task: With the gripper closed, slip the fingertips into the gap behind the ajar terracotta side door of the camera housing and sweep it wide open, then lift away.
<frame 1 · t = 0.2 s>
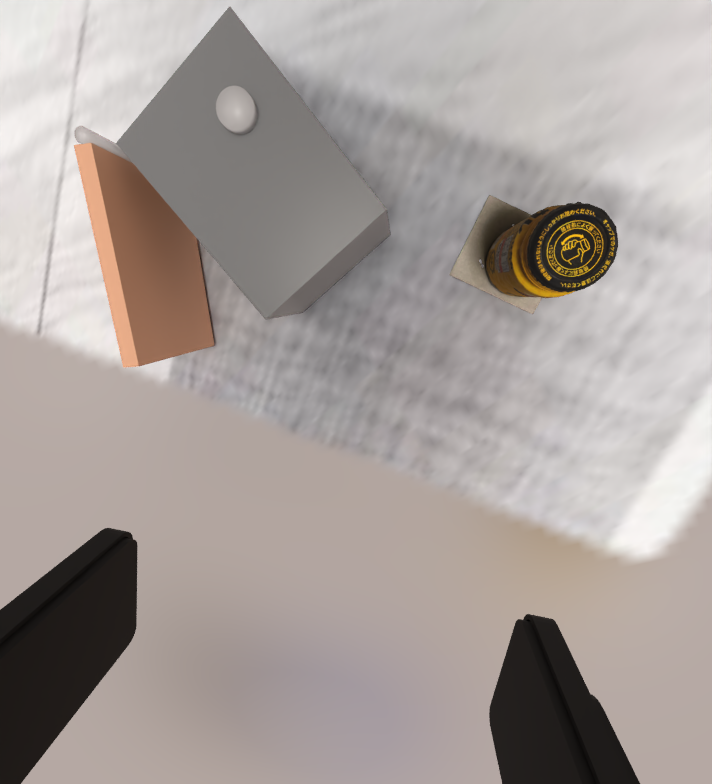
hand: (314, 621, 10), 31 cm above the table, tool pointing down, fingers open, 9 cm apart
condiment: (510, 256, 36), on the table
door: (154, 262, 33), point 6 cm above the table, hinge at 35.0°
housing: (293, 210, 37), on the table
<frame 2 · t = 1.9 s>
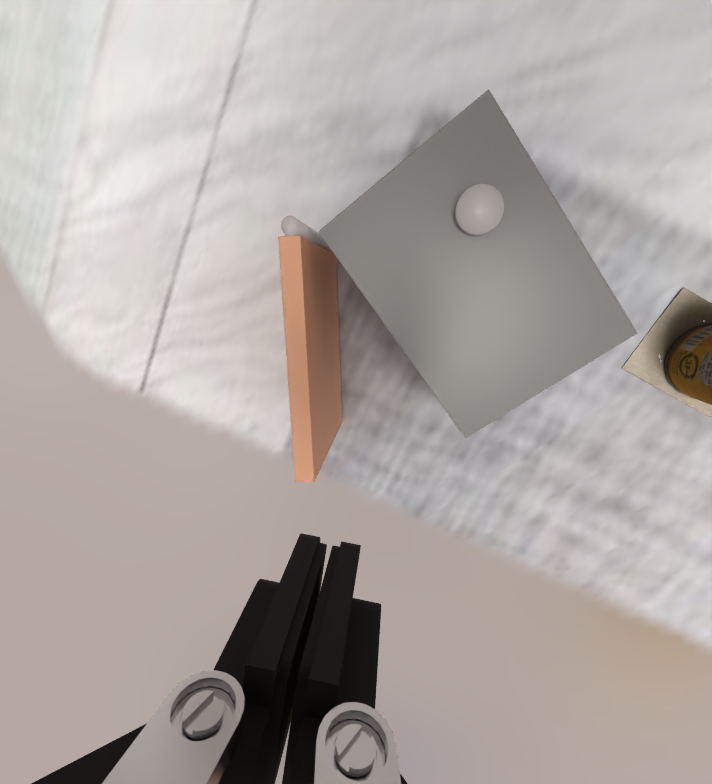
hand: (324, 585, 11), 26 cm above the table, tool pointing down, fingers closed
condiment: (693, 353, 32), on the table
door: (312, 346, 29), point 7 cm above the table, hinge at 35.0°
housing: (452, 284, 33), on the table
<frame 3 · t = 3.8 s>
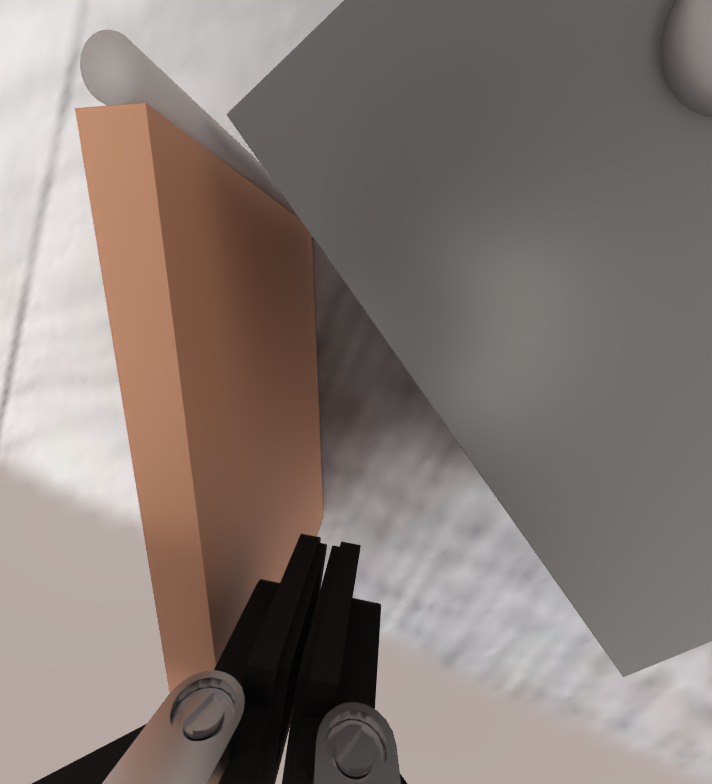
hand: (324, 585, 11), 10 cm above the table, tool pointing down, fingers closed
door: (254, 408, 14), point 6 cm above the table, hinge at 35.1°, touching gripper
housing: (524, 284, 18), on the table
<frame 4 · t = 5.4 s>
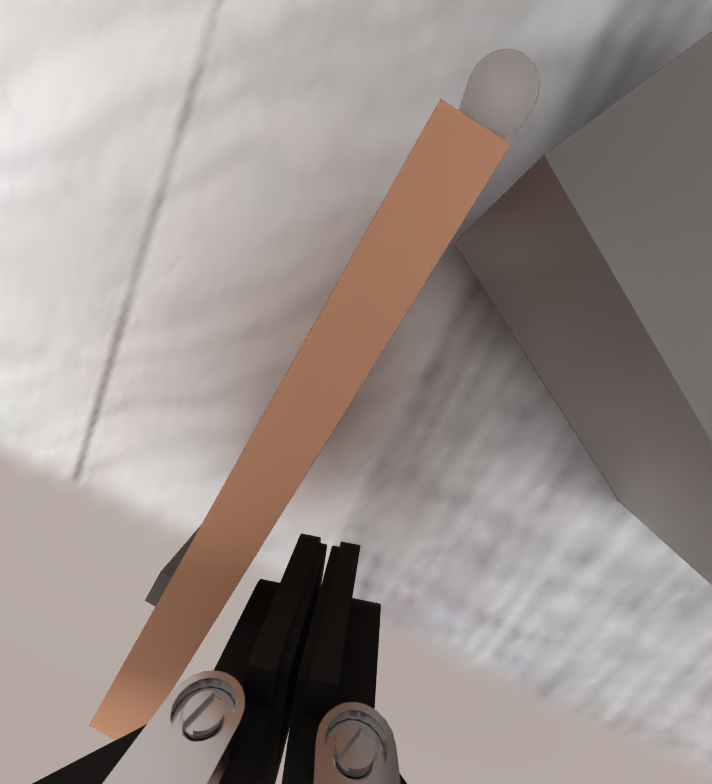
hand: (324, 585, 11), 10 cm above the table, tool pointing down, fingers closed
door: (311, 394, 13), point 6 cm above the table, hinge at 66.4°, touching gripper
housing: (654, 310, 18), on the table
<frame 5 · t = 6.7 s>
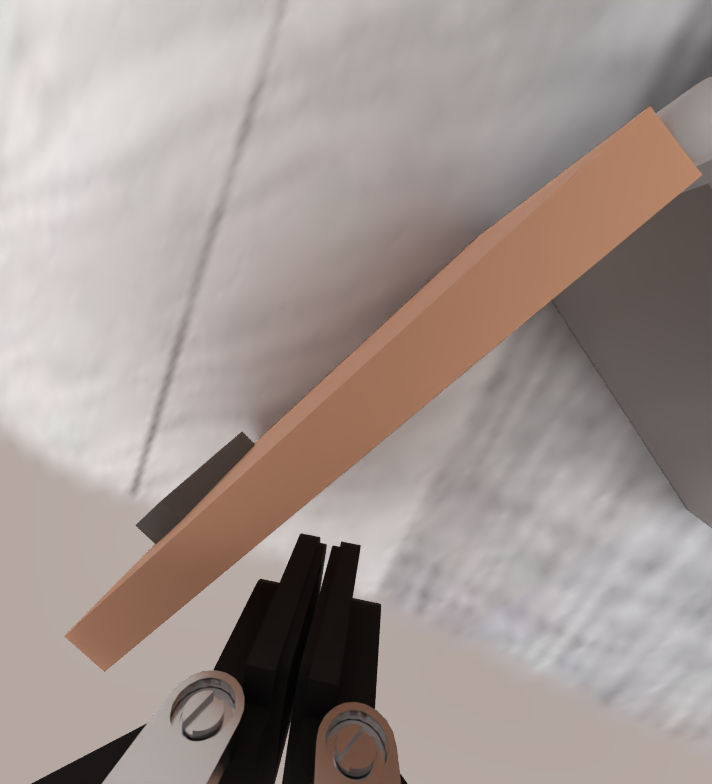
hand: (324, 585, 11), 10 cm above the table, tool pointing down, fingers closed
door: (353, 366, 13), point 7 cm above the table, hinge at 83.7°
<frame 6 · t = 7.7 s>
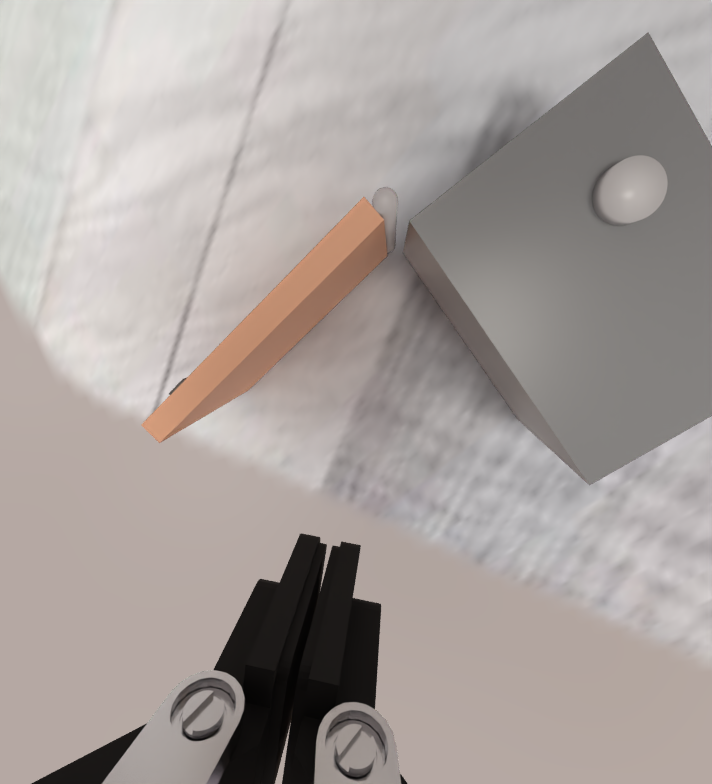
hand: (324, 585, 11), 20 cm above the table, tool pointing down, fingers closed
door: (288, 313, 23), point 6 cm above the table, hinge at 83.7°
housing: (529, 292, 28), on the table
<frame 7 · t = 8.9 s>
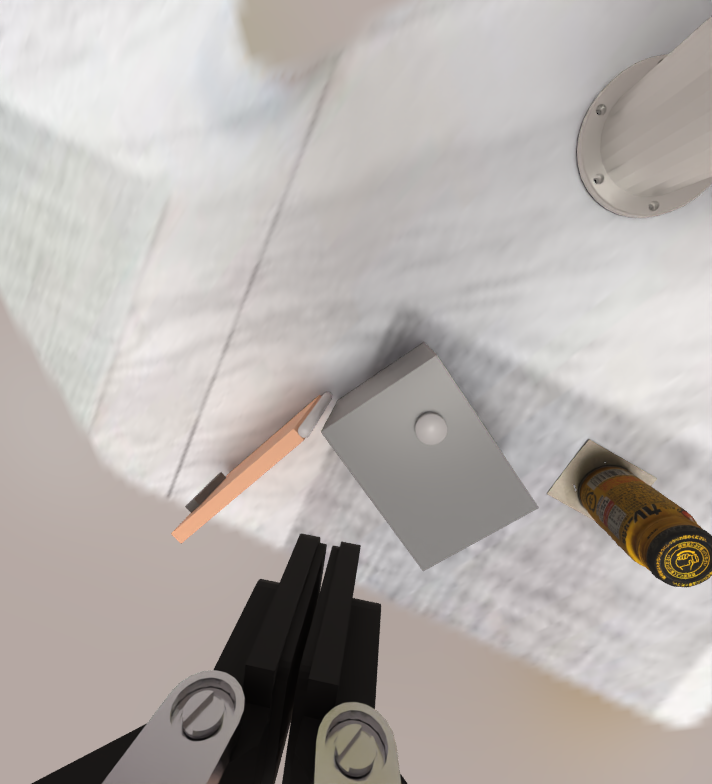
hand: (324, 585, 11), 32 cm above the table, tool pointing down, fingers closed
condiment: (599, 484, 43), on the table
door: (259, 454, 38), point 7 cm above the table, hinge at 83.7°
housing: (419, 428, 43), on the table
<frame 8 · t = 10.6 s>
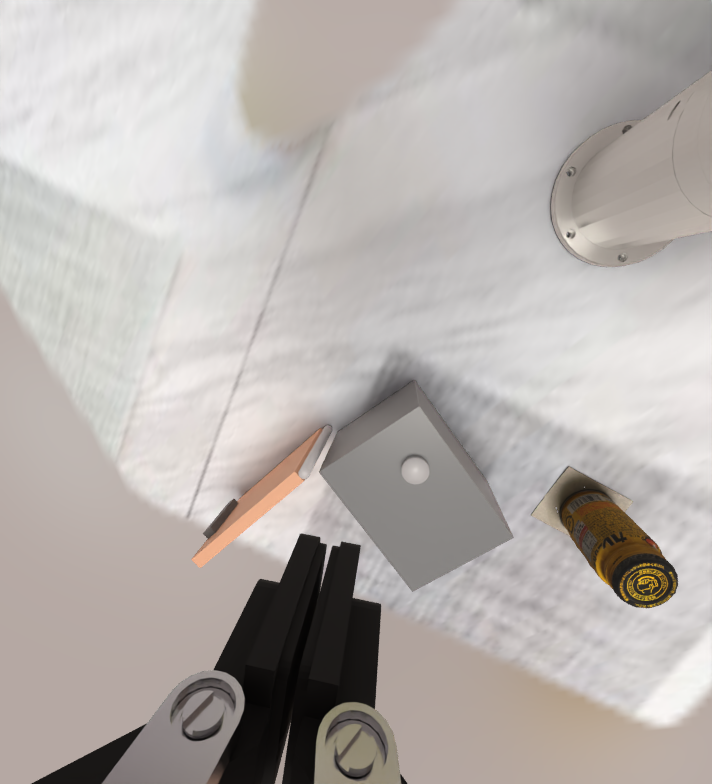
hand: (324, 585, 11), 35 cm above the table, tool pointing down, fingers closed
condiment: (579, 506, 46), on the table
door: (266, 485, 42), point 6 cm above the table, hinge at 83.7°
housing: (412, 457, 47), on the table
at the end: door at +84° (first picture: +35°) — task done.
